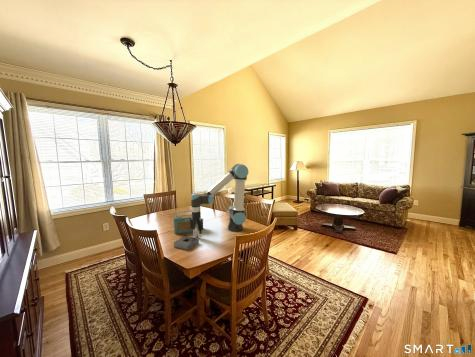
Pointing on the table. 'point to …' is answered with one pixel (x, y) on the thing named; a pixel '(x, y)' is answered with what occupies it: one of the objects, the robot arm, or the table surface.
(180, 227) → the radio
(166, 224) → the table surface
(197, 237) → the chuck key
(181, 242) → the chuck block
